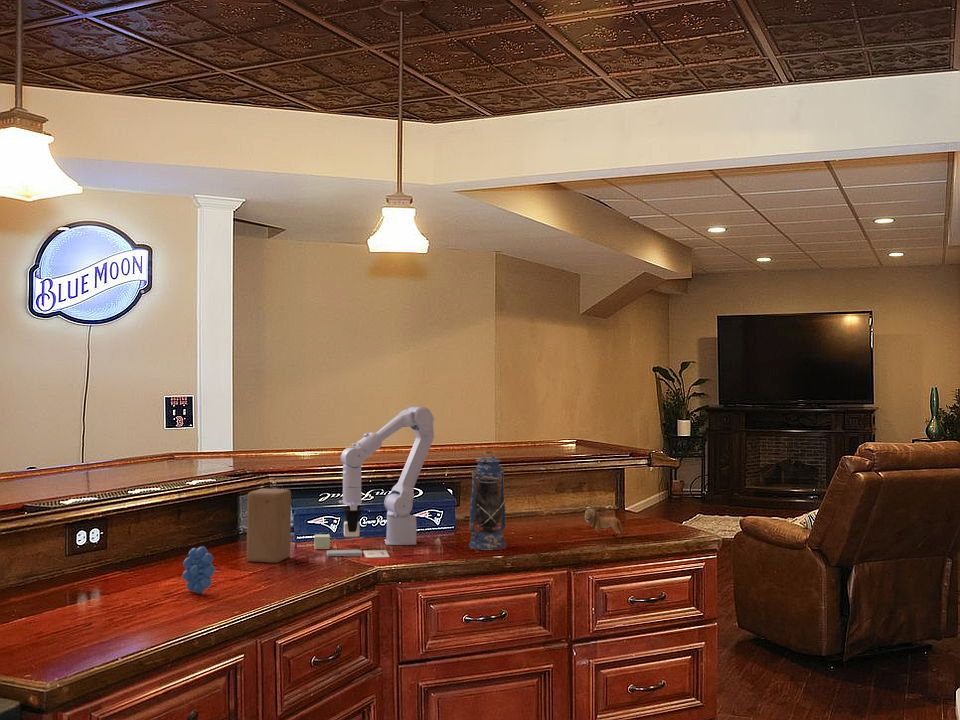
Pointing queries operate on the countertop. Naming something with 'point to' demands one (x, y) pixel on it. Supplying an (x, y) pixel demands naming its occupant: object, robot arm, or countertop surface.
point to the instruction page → (376, 554)
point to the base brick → (344, 553)
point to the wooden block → (268, 525)
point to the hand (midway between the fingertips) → (351, 530)
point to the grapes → (198, 570)
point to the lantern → (487, 505)
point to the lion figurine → (602, 521)
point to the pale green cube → (322, 541)
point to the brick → (350, 534)
